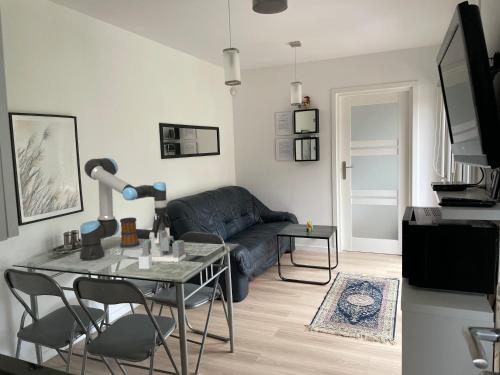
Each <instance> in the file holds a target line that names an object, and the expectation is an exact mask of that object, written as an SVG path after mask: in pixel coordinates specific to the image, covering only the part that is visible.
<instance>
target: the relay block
mask: <svg viewBox="0 0 500 375" xmlns="http://www.w3.org/2000/svg"><path fill="white" fill-rule="evenodd" d="M152 266H153V261H152V255H150V254H143V253H142V254H140V255H139V256H138V268H139V270H140V269H145V270H146V269H148V270H149V269H151V268H152Z"/></svg>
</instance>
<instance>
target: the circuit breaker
mask: <svg viewBox="0 0 500 375" xmlns="http://www.w3.org/2000/svg"><path fill="white" fill-rule="evenodd" d="M158 232H159V243H155V239H154V233H153V232H152V231H150V232H149V239H150V240H151V247H152V249H150V252H152V253H151V255H152V256H158V257H163V256H164V255H166V254H167V253H169V251H171V250H173V247H172V243H174V242H175V241H174V240H175V239H174V236H173V235H170V236H167V231H166V230H165V229H164V230H163V229H162V230H161V229H159V230H158Z"/></svg>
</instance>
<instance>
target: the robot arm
mask: <svg viewBox="0 0 500 375" xmlns="http://www.w3.org/2000/svg"><path fill="white" fill-rule="evenodd" d="M118 167H119V166H118V164H117V162H116V161H115V159H112V158H111V157H110V158H109V157H104V158H103V157H102V158H91V159H89V160H87V161H86V162H85V164H84V167H83V169H84V173H85V175H86V176H88V177H89V178H90V179H92V180H94V181H98V201H99V202H98V206H99V210H98V211H99V216H98V217H97V220H91V221H85V222H83V223H82V224H81V225H80V239H81V250H80V253H79V260H80V259H82V260H81V261H95V260H94V259H96V260H99V258H100V259H102V257H103V258H104V257H105V256H106V254H105V251H104V248H103V246H102V242H101V241H102V239H103V240H104V239H107V238H111V237H113V236H115V235H117V234H118V232H119V230H120V222H119V221H118V220H117V219H116V217H115V216H114V210H113V209H114V205H113V204H114V202H113V201H114V200H113V198H114V197H113V190H114V191H116V192H117V193H119V194H121V195H122V198H124V200H125V201H135V200H139V199H145V198H153V200H154V203H153V204H154V207H155V208H154V213H155V214H156V216H153V224H152V227H151V232H153V233H154V239H155V243H159V232H158V230H160V227H161V224H162V223H163V224H164V230H166V231H167V236H171V235H170V228H171V227H172V223H171V220H170V217H169V213H168V208H167V206H168V205H167V203H168V200H167V184H166V182H165V181H164V182H163V181H157V182H154V183H153V185H151V184H150V185H148V184H141V185H139V186H133V184H130V183H128V182H126V181H125V180H123V179H121V178H119V177H118V176H115V175H116V174H117V173H118V170H119V168H118Z"/></svg>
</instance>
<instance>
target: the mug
mask: <svg viewBox="0 0 500 375" xmlns="http://www.w3.org/2000/svg"><path fill="white" fill-rule="evenodd" d="M119 224H120V228H121V232H120V235H121V237H120V238H121V242H120V243H119V244H120V245H119V248H121V249H132V248H137V247H139V245H141V242H140V241H139V237H138V230H137V217H130V216H129V217H124V218H120V220H119Z"/></svg>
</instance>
